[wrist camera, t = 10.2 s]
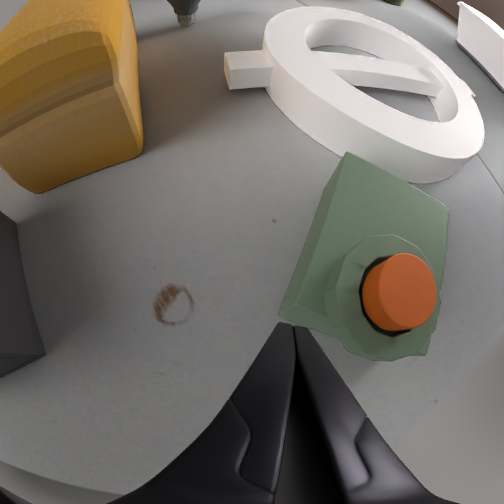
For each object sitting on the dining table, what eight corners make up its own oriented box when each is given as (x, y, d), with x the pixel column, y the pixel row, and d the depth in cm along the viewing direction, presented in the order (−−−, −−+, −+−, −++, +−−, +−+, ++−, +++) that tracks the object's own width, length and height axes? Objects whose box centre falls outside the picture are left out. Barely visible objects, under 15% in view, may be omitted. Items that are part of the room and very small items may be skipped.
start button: (408, 339, 13) (428, 337, 11) (352, 317, 13) (368, 313, 11) (423, 277, 14) (441, 269, 12) (371, 252, 14) (387, 240, 12)
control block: (379, 371, 18) (438, 377, 12) (270, 331, 19) (292, 325, 12) (413, 232, 22) (463, 196, 16) (324, 187, 23) (355, 134, 16)
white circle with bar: (208, 90, 25) (206, 53, 21) (315, 17, 34) (321, -5, 29) (451, 236, 23) (483, 216, 18) (464, 103, 31) (479, 86, 27)
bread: (57, 65, 27) (28, -11, 13) (138, 35, 29) (124, -50, 15) (28, 200, 20) (-65, 101, 6) (150, 155, 22) (103, -2, 8)
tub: (539, 118, 40) (561, 95, 27) (519, 122, 34) (549, 90, 22) (466, 36, 48) (482, 11, 36) (424, 23, 43) (441, -11, 30)
